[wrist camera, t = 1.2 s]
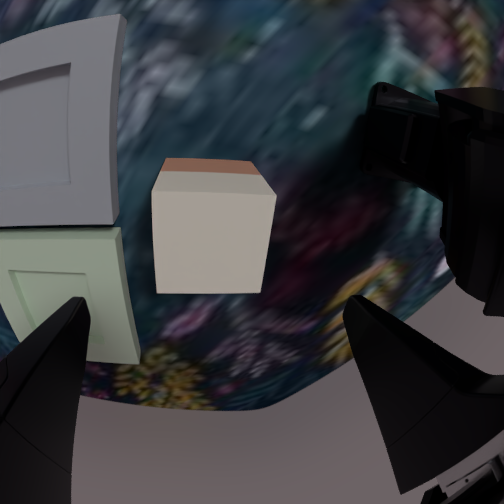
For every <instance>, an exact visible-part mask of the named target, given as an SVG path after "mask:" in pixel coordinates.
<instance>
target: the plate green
mask: <svg viewBox="0 0 504 504" xmlns="http://www.w3.org/2000/svg"><path fill="white" fill-rule="evenodd" d="M73 296H78V297H84V298H85V300H86V302H87V306H88V309H89V313H90V316H91V325H90V332H89V340H88V349H87V358H86V361H95V362H107V363H122V364H139V362H140V352H141V349H140V345H139V341H138V336H137V332H136V327H135V322H134V317H133V312H132V306H131V301H130V295H129V289H128V283H127V276H126V269H125V262H124V254H123V245H122V236H121V227H112V228H27V229H0V303H1V305H2V308H3V310H4V312H5V314H6V316H7V318H8V320H9V322H10V324H11V326H12V328H13V330H14V332H15V334H16V336H17V338H18V340H19V342H20V343H21V342H22V341H23V340H24V339H25V338H26V337H27V336H28V335H29V334H30V333H31V332H33V331H34V330H35V329H36V328H37V327H38V326H39V325H40V324H41V323H43V322H44V321H45V320H46V319H47V318H48V317H49V316H50V315H52V314H53V313H54V312H55V311H56V310H57V309H59V308H60V307H61V306H62V305H63V304H64V303H66V302H67V301H68V300H69V299H70V298H72V297H73Z"/></svg>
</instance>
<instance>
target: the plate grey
mask: <svg viewBox="0 0 504 504" xmlns="http://www.w3.org/2000/svg"><path fill="white" fill-rule="evenodd" d="M126 24H127V20H126V19H125V18H124V17H123V16H122V15H121V14H116V15H109V16H102V17H96V18H90V19H85V20H80V21H75V22H70V23H66V24H62V25H58V26H54V27H50V28H46V29H43V30H40V31H36V32H33V33H30V34H27V35H24V36H21V37H18V38H16V39H13V40H10V41H8V42H5V43H2V44H0V226H31V225H84V224H114V222H115V220H116V219H117V217H118V215H119V200H118V181H117V112H118V94H119V80H120V70H121V60H122V52H123V44H124V37H125V30H126Z"/></svg>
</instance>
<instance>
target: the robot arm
mask: <svg viewBox="0 0 504 504" xmlns="http://www.w3.org/2000/svg"><path fill="white" fill-rule="evenodd" d="M382 86H383V87H384V91H383V92H382V90H381V87H382ZM435 98H436V101H438V104H437V103H433V102H431V101H428V100H426V99H424V98H422V97H420V96H418V95H415V94H413V93H411V92H408V91H406V90H404V89H401V88H399V87H396V86H394V85H391V84H389V83H386V82H377V83H376V85H375V89H374V95H373V101H372V107H371V108H370V112H369V118H368V123H367V128H366V133H365V138H364V148H363V153H362V158H361V162H360V169H361V171H362V172H364V173H365V174H368V175H374V176H380V177H385V178H390V179H395V180H400V181H405V182H410V183H412V184H414V185H416V186H417V187H419V188H421V189H422V190H424V191H426V192H427V193H429V194H431V195H432V196H434V197H436V198H437V199H439V200H440V201H442V202H443V214H442V227H441V228H440V238H441V240H442V242H443V243H444V245H445V250H444V251H445V256H446V262H447V264H448V266H449V268H450V269H451V271H452V273H453V274H454V276H455V277H456V279H455V282H456V284H457V285H458V286H459V287H460V288H461V289H462V290H463V291H465V292H466V293H467V294H469V295H471V296H473V297H474V298H476V299H478V300H480V301H482V302H485V306H484V309H483V314H484V315H486V316H501V317H504V91H502V90H497V89H492V88H486V87H470V88H455V89H443V90H435ZM367 164H369V167H368V168H367V169H366V165H367ZM343 321H344V325H345V328H346V332H347V335H348V339H349V343H350V346H351V350H352V353H353V356H354V359H355V361H356V364H357V366H358V369H359V372H360V374H361V377H362V380H363V382H364V385H365V388H366V390H367V393H368V396H369V399H370V402H371V404H372V407H373V410H374V413H375V416H376V419H377V421H378V425H379V427H380V430H381V434H382V436H383V440H384V443H385V445H386V448H387V452H388V455H389V459H390V462H391V465H392V468H393V471H394V475H395V478H396V482H397V485H398V488H399V491H400V494H401V495H402V494H404V493H406V492H408V491H410V490H412V489H414V488H416V487H418V486H420V485H422V484H423V483H425V482H427V481H429V480H431V479H433V478H435V477H436V479H437V481H438V484H437V485H435V486H434V487H432V488H430V489H429V490H427V491H425V493H424V496H423V499H422V501H421V504H504V375H491V374H487V373H485V372H483V371H481V370H479V369H478V368H476V367H474V366H472V365H471V364H468V363H467V362H465V361H463V360H462V359H460V358H458V357H457V356H455V355H453V354H451V353H450V352H448V351H447V350H445V349H444V348H442V347H440V346H439V345H438V344H436V343H433V341H431V340H430V339H428V338H427V337H425V336H424V335H422V334H421V333H419V332H418V331H416V330H415V329H413V328H411V327H410V326H409V325H407V324H405V323H404V322H402V321H401V320H399V319H398V318H396V317H395V316H393V315H392V314H390V313H388V312H387V311H385V310H384V309H382V308H381V307H379V306H377V305H376V304H374V303H373V302H371V301H370V300H368V299H366V298H365V297H363V296H362V295H352V296H350V297H349V299H348V301H347V304H346V306H345V309H344V311H343ZM90 325H91V316H90V313H89V309H88V306H87V302H86V300H85V298H84V297H78V296H73V297H72V298H70V299H69V300H68V301H67V302H66V303H64V304H63V305H62V306H61V307H60V308H59V309H57V310H56V311H55V312H54V313H53V314H52V315H50V316H49V317H48V318H47V319H46V320H45V321H44V322H43V323H41V324H40V325H39V326H38V327H37V328H36V329H35V330H34V331H33V332H31V333H30V334H29V335H28V336H27V337H26V338H25V339H24V340H23V341H22V342H21V343H20V344H19V345H17V346H16V347H15V348H14V349H13V350H12V351H11V352H10V353H9V354H8V355H7V358H6V357H5V358H4V359H3V360H2V361H1V362H0V504H71V477H72V475H71V473H72V472H71V471H72V456H73V444H74V434H75V426H76V418H77V410H78V403H79V398H80V392H81V386H82V381H83V375H84V370H85V365H86V358H87V349H88V340H89V332H90Z"/></svg>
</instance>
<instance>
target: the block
mask: <svg viewBox="0 0 504 504" xmlns="http://www.w3.org/2000/svg"><path fill="white" fill-rule="evenodd" d="M276 197H277V195H276V194H275V193H274V191H273V190H272V189H271V187H270V186H269V185H268V183H267V182H266V181H265V179H264V178H263V177H262V175H261V174H260V173H259V171H258V170H257V169H256V168H255V166H254V165H253V164H252V162H250V161H236V160H218V159H192V158H166V159H165V162H164V164H163V166H162V168H161V171H160V173H159V175H158V177H157V180H156V182H155V185H154V187H153V189H152V228H153V248H154V263H155V276H156V288H157V293H260V291H261V285H262V280H263V274H264V268H265V262H266V257H267V251H268V245H269V239H270V233H271V227H272V221H273V215H274V209H275V203H276Z"/></svg>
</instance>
